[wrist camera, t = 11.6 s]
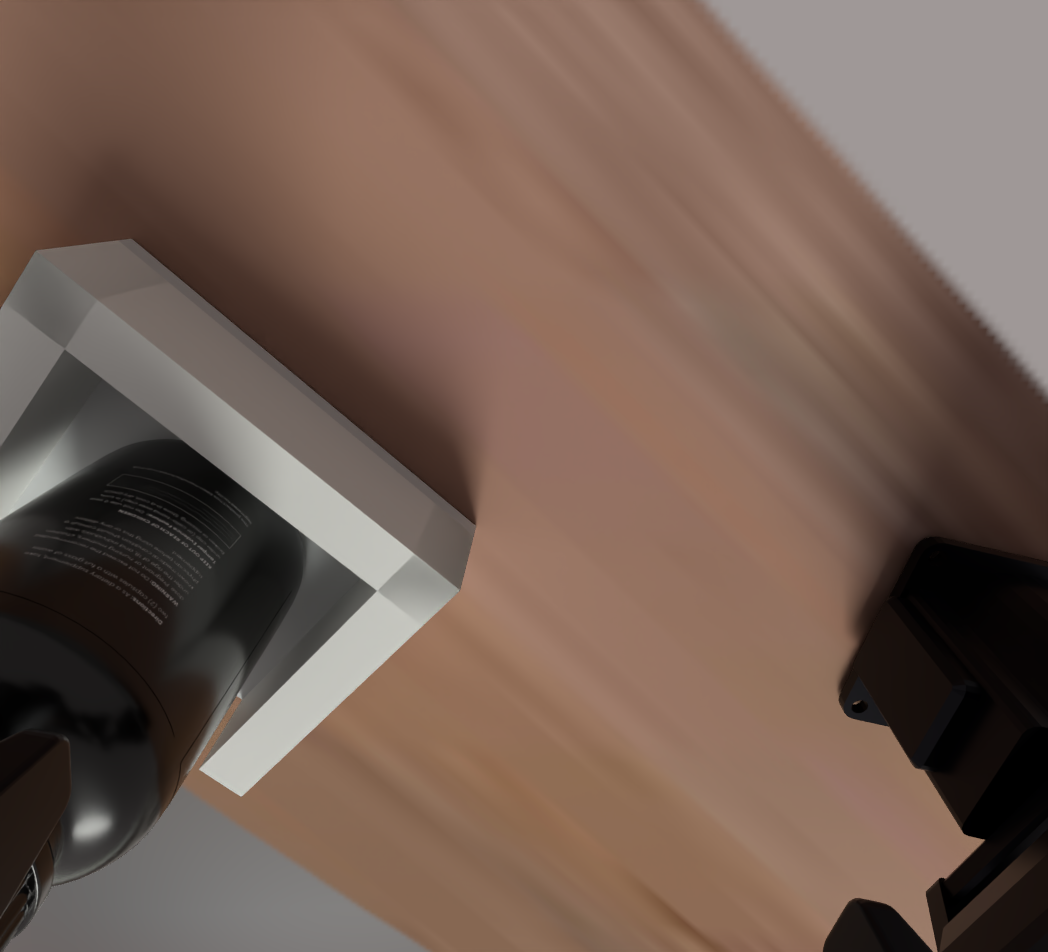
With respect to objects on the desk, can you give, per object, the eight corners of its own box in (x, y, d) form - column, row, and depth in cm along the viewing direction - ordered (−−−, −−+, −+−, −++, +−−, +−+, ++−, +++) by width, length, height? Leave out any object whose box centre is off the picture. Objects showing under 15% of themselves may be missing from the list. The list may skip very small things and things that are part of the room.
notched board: (131, 238, 18) (35, 250, 15) (476, 526, 21) (460, 590, 18) (-33, 490, 21) (-143, 547, 18) (285, 712, 24) (241, 797, 21)
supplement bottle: (35, 486, 20) (-581, 841, 9) (227, 394, 19) (-232, 681, 8) (174, 664, 23) (-193, 1118, 12) (353, 592, 21) (132, 1030, 10)
